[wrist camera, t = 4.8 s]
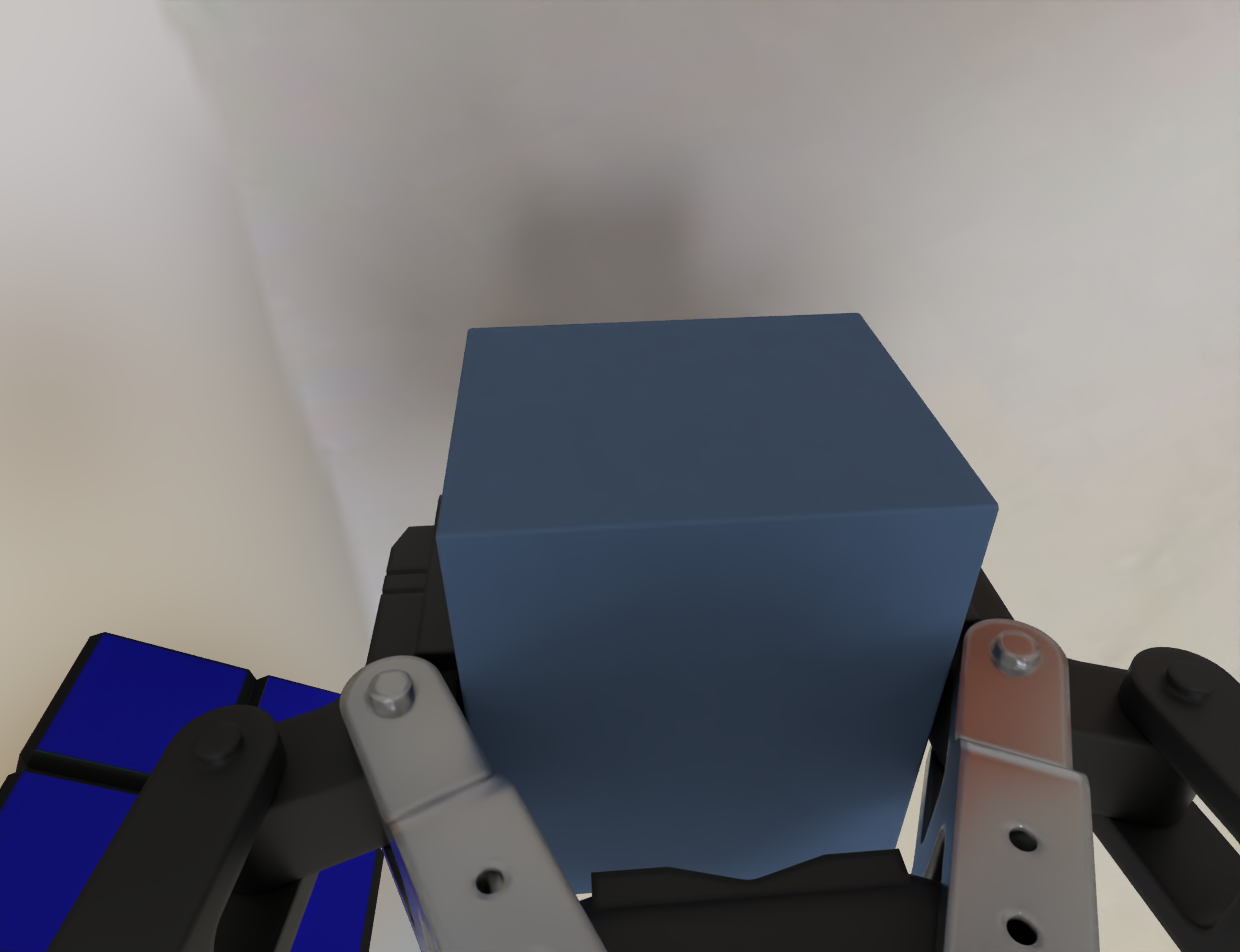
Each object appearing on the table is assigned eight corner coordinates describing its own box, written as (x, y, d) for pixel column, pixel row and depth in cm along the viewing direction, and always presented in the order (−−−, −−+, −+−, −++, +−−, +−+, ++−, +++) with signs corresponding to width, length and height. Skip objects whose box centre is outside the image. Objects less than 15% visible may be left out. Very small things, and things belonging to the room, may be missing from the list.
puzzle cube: (410, 704, 30) (361, 1019, 21) (323, 862, 34) (257, 1170, 26) (95, 621, 26) (-104, 954, 18) (48, 808, 31) (-127, 1139, 23)
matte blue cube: (467, 327, 13) (433, 536, 9) (860, 311, 13) (1002, 506, 9) (506, 654, 17) (495, 901, 13) (807, 635, 17) (889, 871, 13)
